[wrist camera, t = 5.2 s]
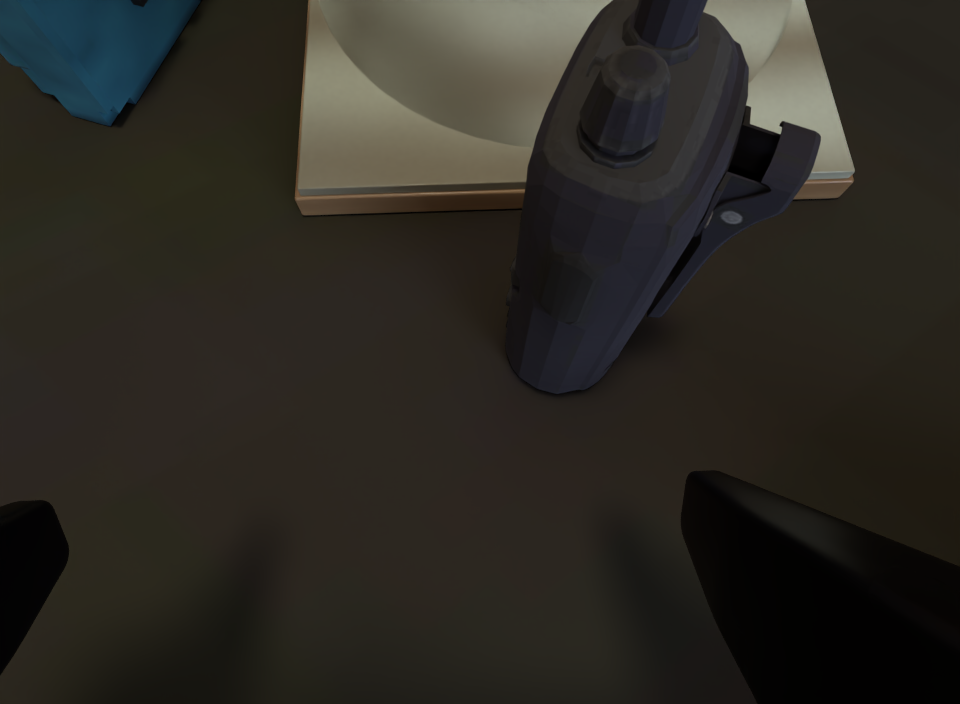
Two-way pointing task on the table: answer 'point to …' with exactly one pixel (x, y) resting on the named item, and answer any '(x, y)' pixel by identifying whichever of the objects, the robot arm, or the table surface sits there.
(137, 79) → the handheld gaming console
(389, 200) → the rounded flat tile
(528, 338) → the two-way radio
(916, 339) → the table surface
